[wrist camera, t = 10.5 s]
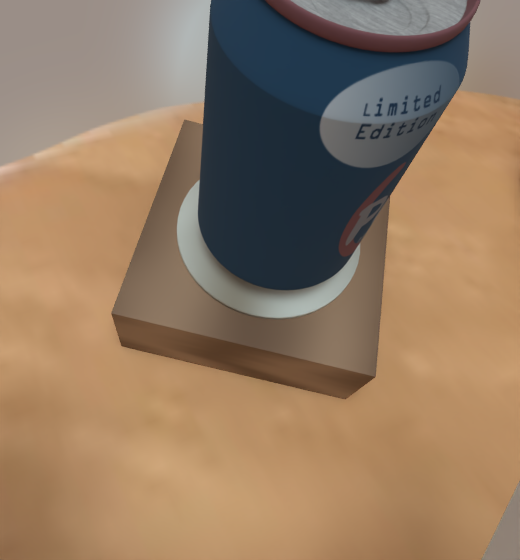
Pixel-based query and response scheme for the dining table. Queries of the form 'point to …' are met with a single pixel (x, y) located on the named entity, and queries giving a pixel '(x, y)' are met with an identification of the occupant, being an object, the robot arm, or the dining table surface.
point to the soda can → (317, 124)
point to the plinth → (246, 299)
